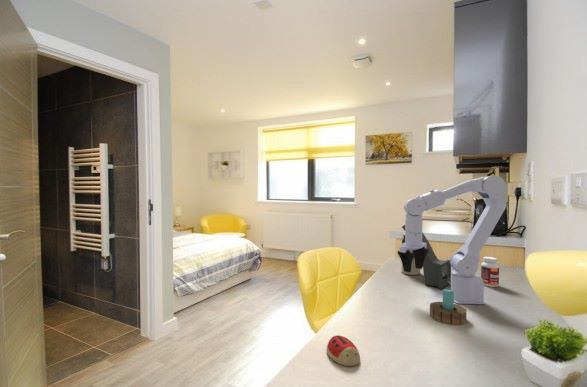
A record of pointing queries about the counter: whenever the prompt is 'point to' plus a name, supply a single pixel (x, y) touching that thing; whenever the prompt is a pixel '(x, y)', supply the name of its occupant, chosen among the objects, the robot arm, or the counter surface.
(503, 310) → the counter surface
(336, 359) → the ladybug figurine
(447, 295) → the capsule peg
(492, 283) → the pill bottle
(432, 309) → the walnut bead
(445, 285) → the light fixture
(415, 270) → the travel mug
